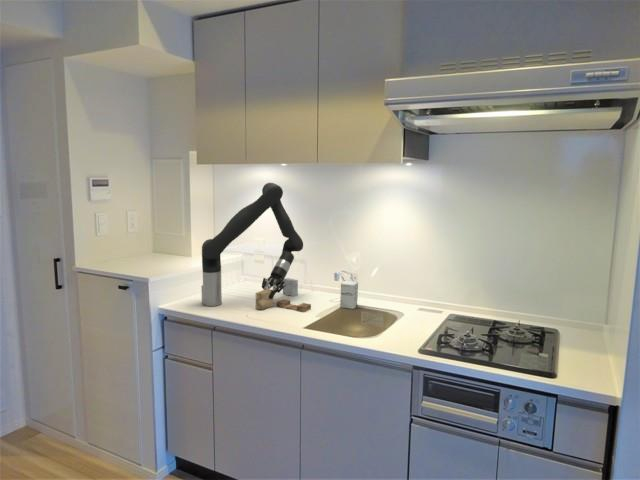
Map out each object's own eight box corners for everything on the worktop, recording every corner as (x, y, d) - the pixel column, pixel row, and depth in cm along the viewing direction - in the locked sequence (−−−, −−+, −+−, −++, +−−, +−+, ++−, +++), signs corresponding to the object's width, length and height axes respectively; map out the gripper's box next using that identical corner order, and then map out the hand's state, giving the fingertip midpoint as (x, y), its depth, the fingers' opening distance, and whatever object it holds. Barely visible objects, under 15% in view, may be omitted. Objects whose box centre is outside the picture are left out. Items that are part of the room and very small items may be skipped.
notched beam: (276, 306, 236) (276, 301, 235) (283, 303, 241) (283, 299, 240) (304, 312, 227) (304, 307, 226) (310, 309, 232) (310, 304, 231)
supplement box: (339, 307, 235) (340, 283, 234) (344, 303, 242) (344, 280, 240) (353, 309, 233) (354, 284, 231) (357, 305, 240) (358, 281, 238)
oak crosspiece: (255, 308, 230) (255, 292, 229) (266, 304, 238) (266, 288, 237) (262, 309, 228) (262, 293, 227) (273, 305, 236) (273, 290, 235)
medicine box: (298, 295, 258) (298, 279, 257) (292, 296, 255) (292, 281, 253) (288, 292, 263) (288, 277, 262) (282, 294, 260) (282, 278, 258)
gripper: (266, 263, 243) (252, 291, 235) (289, 267, 236) (274, 295, 227) (273, 272, 248) (258, 299, 240) (294, 275, 241) (280, 303, 233)
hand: (266, 297), depth 234 cm, fingers closed on oak crosspiece, 4 cm apart
